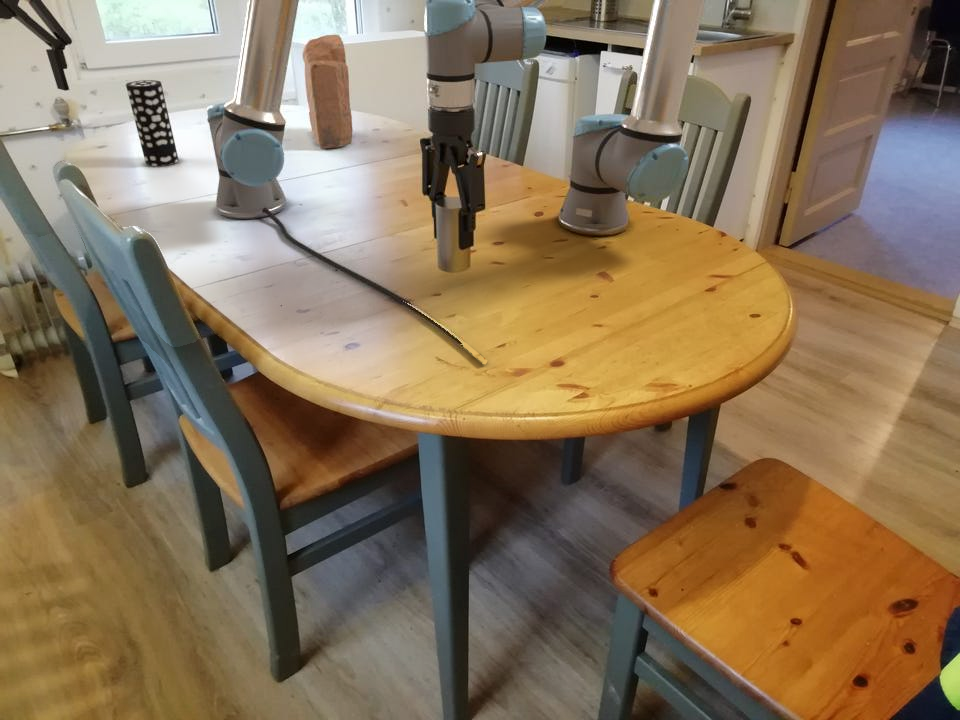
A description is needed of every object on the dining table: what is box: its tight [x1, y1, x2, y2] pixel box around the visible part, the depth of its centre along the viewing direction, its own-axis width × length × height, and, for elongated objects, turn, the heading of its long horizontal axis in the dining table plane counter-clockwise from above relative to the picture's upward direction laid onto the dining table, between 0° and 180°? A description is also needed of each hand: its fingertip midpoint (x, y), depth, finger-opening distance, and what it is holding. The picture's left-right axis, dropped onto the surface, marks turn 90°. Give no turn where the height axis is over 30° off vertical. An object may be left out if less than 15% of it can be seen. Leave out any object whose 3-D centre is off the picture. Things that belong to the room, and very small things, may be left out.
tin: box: [436, 196, 472, 274], centre depth 121 cm, size 6×6×12 cm
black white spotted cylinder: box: [125, 79, 179, 167], centre depth 181 cm, size 8×8×20 cm
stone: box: [302, 34, 354, 149], centre depth 199 cm, size 22×11×28 cm, turn 18°
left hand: (24, 95), depth 119 cm, fingers open, 13 cm apart
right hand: (453, 241), depth 122 cm, fingers closed on tin, 6 cm apart
